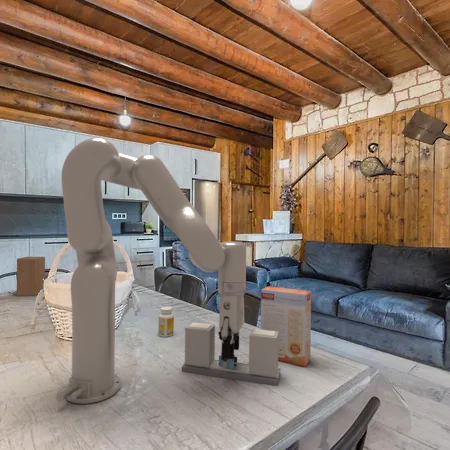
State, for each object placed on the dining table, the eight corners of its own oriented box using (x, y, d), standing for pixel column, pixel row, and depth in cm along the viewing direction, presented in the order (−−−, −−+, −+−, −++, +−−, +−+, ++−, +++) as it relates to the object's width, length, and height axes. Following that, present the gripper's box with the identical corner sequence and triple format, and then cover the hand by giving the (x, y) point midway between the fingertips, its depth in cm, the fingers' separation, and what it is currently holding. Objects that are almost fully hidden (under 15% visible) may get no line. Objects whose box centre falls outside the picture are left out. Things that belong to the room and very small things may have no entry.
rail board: (277, 385, 79) (278, 338, 79) (181, 371, 86) (182, 327, 86) (280, 373, 86) (280, 329, 86) (191, 360, 93) (191, 320, 93)
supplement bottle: (157, 337, 111) (157, 310, 110) (159, 332, 116) (159, 306, 116) (173, 337, 111) (173, 310, 111) (174, 331, 116) (174, 306, 116)
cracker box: (310, 360, 94) (312, 290, 94) (305, 367, 89) (306, 294, 89) (267, 349, 101) (268, 285, 101) (259, 356, 96) (260, 288, 96)
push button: (245, 366, 85) (245, 329, 86) (234, 373, 81) (235, 334, 81) (224, 360, 89) (225, 325, 89) (213, 367, 85) (214, 329, 85)
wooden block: (16, 296, 166) (16, 258, 166) (26, 292, 176) (26, 256, 176) (36, 296, 167) (36, 258, 167) (45, 292, 177) (45, 256, 177)
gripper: (238, 295, 76) (236, 369, 76) (251, 282, 93) (250, 343, 93) (208, 292, 78) (207, 365, 78) (226, 280, 95) (225, 340, 95)
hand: (230, 352), depth 86 cm, fingers open, 5 cm apart
